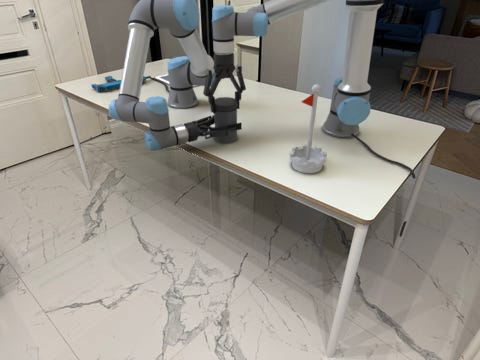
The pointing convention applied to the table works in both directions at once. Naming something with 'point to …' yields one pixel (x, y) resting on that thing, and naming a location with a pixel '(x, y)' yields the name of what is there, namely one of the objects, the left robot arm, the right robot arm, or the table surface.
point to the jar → (226, 124)
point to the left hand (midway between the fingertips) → (235, 121)
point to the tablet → (166, 79)
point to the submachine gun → (111, 84)
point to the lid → (226, 104)
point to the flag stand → (309, 143)
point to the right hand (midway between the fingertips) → (225, 110)
